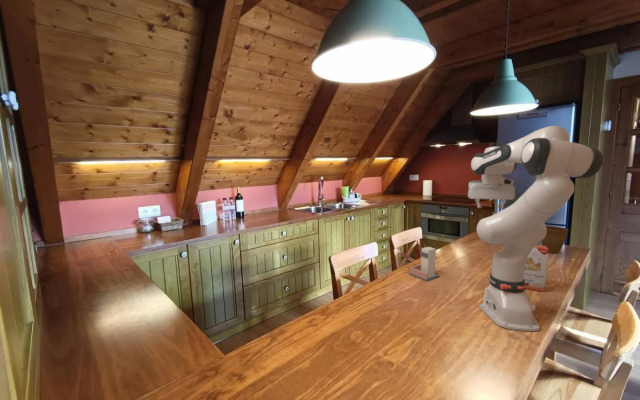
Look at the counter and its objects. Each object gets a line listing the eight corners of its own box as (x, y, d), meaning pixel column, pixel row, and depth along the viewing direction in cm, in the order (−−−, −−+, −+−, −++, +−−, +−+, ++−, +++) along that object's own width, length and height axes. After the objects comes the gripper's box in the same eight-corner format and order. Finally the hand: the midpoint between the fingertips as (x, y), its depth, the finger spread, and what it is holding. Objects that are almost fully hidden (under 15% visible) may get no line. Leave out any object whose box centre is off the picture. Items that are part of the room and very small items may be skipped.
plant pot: (571, 254, 191) (574, 229, 189) (553, 256, 188) (555, 231, 186) (549, 247, 205) (551, 225, 203) (531, 249, 202) (533, 226, 200)
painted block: (434, 274, 157) (435, 248, 155) (427, 276, 154) (428, 250, 152) (427, 271, 160) (428, 246, 158) (420, 274, 157) (421, 248, 156)
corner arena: (439, 277, 156) (439, 269, 156) (426, 281, 151) (426, 274, 150) (421, 270, 166) (422, 263, 165) (408, 274, 160) (409, 267, 160)
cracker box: (508, 287, 143) (512, 244, 141) (507, 282, 149) (511, 241, 146) (544, 292, 137) (549, 248, 134) (542, 287, 142) (546, 245, 139)
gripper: (470, 180, 145) (468, 208, 146) (517, 180, 140) (515, 209, 142) (466, 179, 151) (465, 206, 152) (512, 179, 146) (509, 207, 148)
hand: (489, 208), depth 147 cm, fingers open, 8 cm apart
